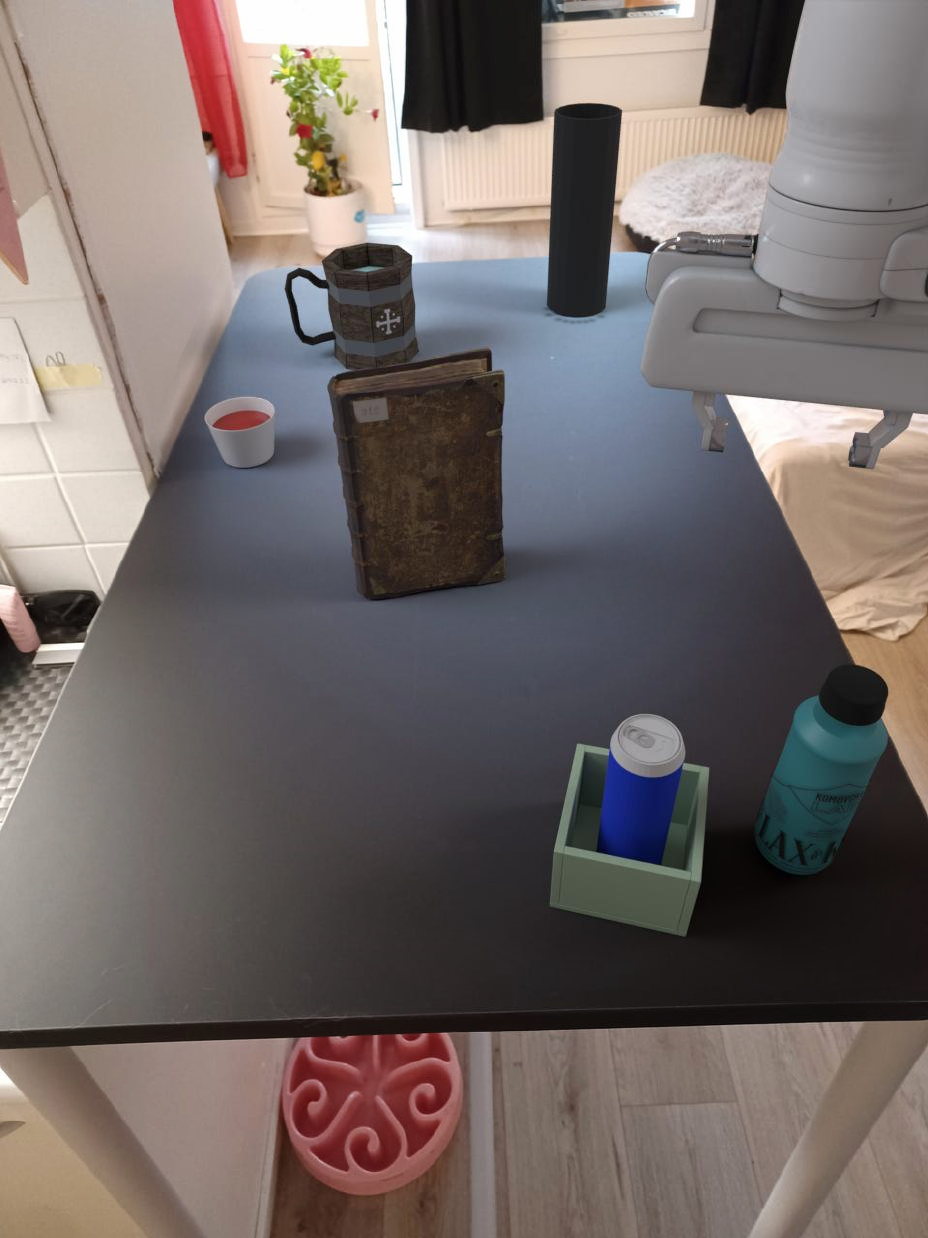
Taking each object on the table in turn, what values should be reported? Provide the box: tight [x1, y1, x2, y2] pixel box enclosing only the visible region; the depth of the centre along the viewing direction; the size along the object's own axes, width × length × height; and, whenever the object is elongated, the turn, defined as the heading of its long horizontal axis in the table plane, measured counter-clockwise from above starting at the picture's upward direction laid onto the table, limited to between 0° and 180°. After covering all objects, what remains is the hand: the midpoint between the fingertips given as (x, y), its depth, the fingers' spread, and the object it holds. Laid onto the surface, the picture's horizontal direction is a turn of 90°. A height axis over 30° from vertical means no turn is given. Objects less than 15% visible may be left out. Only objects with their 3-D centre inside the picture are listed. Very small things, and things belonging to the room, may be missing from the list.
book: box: [326, 346, 507, 600], centre depth 91 cm, size 17×7×25 cm, turn 99°
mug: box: [284, 242, 420, 371], centre depth 137 cm, size 20×14×15 cm
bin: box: [549, 743, 710, 938], centre depth 69 cm, size 10×10×8 cm
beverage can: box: [596, 713, 686, 866], centre depth 66 cm, size 5×5×15 cm
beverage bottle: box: [752, 663, 889, 876], centre depth 65 cm, size 6×7×20 cm
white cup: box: [204, 396, 276, 469], centre depth 118 cm, size 9×9×6 cm
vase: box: [546, 102, 623, 318], centre depth 144 cm, size 10×10×30 cm
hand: (784, 455), depth 59 cm, fingers open, 8 cm apart
